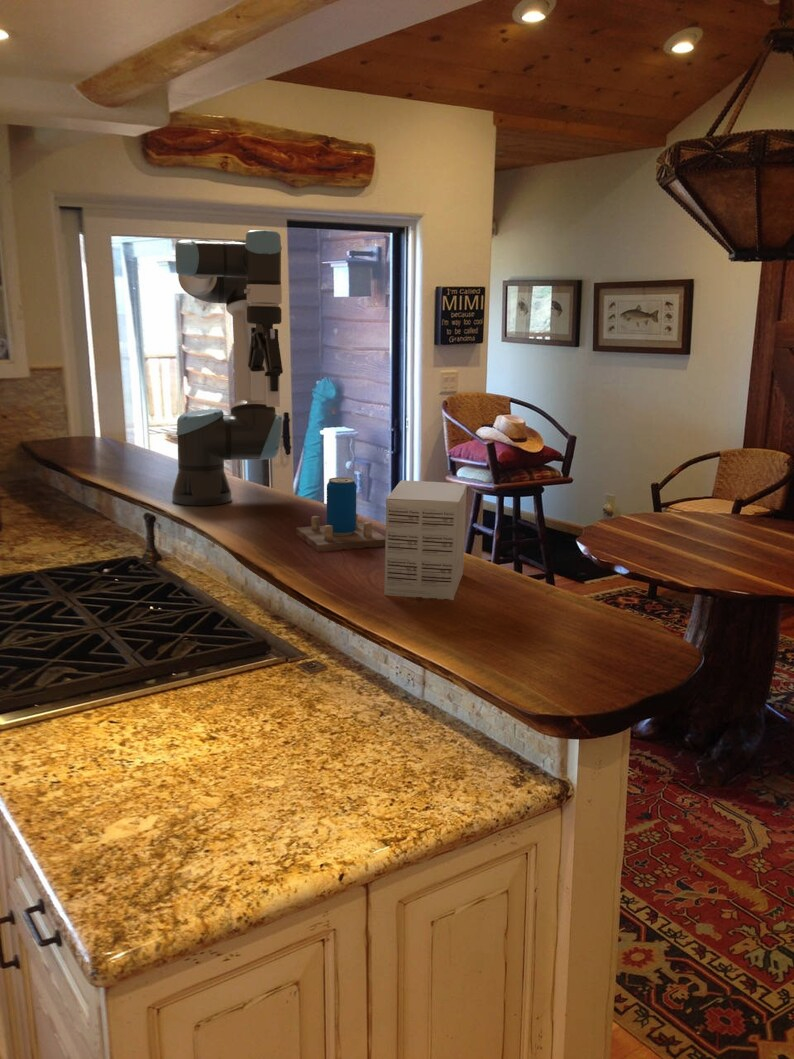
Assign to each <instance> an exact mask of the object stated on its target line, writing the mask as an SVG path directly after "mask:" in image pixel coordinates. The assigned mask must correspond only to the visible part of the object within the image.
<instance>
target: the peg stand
mask: <svg viewBox="0 0 794 1059" xmlns="http://www.w3.org/2000/svg"><path fill="white" fill-rule="evenodd" d="M320 518H321V516H318V515H312V516H311V526H299V527H295V533H297V534H298V535H299V536H300V537H301V538H300V537H299V536H298V535H297V534H296V535H297V536H298V537H299V538H300V539H302V540H303V539H304V540H305V541H306V542H307V543H306V542H305V541H304V540H303V541H304V542H305V543H306V544H308V545H309V546H310V545H311V546H312V548H313V549H314V550H315V551H316V552H317V551H318V553H319V552H320V551H321V552H332V550H333V551H342V549H345V550H352V549H351V548H357V549H365V548H364V547H369V548H377V547H378V548H379V547H380V548H381V547H385V541H386V536H384V535H383V534H381V533H379V532H378V531H376V529H375V530H374V529H373V523H372V522H368V521H367V522H359V521H358V513H356V531H354V532H353V533H352V534H351V535H347V536H336V535H333V526H332V525H327V524H325V525H321V519H320ZM311 546H310V547H311Z"/></svg>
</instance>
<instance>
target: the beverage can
mask: <svg viewBox="0 0 794 1059" xmlns="http://www.w3.org/2000/svg"><path fill="white" fill-rule="evenodd" d="M356 514H357V484H356V482H355V479H354V478H351V477H346V476H345V477H344V476H343V477H341V476H338V477H337V476H336V477H331V478H329V479H328V482H327V484H326V525H332V526H333V535H336V536H347V535H351V534H352V533H353V532H354V531H356Z"/></svg>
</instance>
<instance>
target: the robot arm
mask: <svg viewBox="0 0 794 1059" xmlns="http://www.w3.org/2000/svg"><path fill="white" fill-rule="evenodd" d="M281 239H282V237H281V234H280V233H279V232H278V231H274V230H261V229H260V230H259V229H258V230H257V229H256V230H255V229H254V230H248V231H247V232H246V233H245V242H232V241H231V242H229V241H228V242H227V241H222V242H221V241H205V240H204V241H203V240H193V239H188V240H178V241H176V242H175V245H174V248H175V255H174V257H175V271H176V274H177V277H178V283H179V285H180V287H181V289H182V290H183V291H184V292H185V293H186V294H188V295H189V296H190V297H192V298H195V299H196V300H197V299H198V300H199V301H202V302H207V303H210V304H211V303H212V304H224V305H225V308H226V311H227V313H229V315H231V316H232V334H233V335H232V338H233V357H234V358H233V360H234V378H235V379H234V380H235V403H234V404H233V406H231V408H230V414H224V412H223V410H222V409H220V408H213V409H212V408H211V409H210V408H209V409H201V410H195V411H190V412H186V413H182V414H180V416H179V417H178V418H177V422H176V425H177V426H176V436H177V464H178V466H177V468H178V470H177V475H176V478H175V482H174V485H173V488H172V496H171V498H172V502H173V503H175V504H178V505H184V506H194V507H195V506H197V507H200V506H201V507H202V506H214V505H215V506H216V505H221V504H226V503H229V502H231V501H232V498H233V497H232V490H231V487H230V484H229V481H228V479H227V476H226V473H225V461H243V460H244V461H245V460H246V461H249V460H250V461H254V460H256V461H257V460H258V461H262V460H274V458H276V457H277V456H278V454H279V451H280V446H281V439H282V430H283V422H282V421H283V417H282V414H279V413H276V408H279V407H280V405H281V404H280V397H281V396H280V394H281V393H280V390H281V388H280V376H281V374H282V375H283V372H284V369H283V366H282V365H283V364H282V358H281V357H282V356H281V349H280V341H279V329H278V328H274V325H280V324H282V308H281V306H280V305H282V303H283V302H282V299H283V298H282V295H283V294H282V251H283V250H282V248H283V247H282V244H281V243H282V242H281V241H282V240H281Z"/></svg>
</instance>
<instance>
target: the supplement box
mask: <svg viewBox="0 0 794 1059" xmlns="http://www.w3.org/2000/svg"><path fill="white" fill-rule="evenodd" d="M467 488H468V484H467V483H462V482H461V483H458V482H445V481H444V482H443V481H423V480H405V479H404V480H402V479H401V480H400V481H399V482H398V483H397V485H396V486H395V487H394V489H393V490H392V491H391V492H390V493H389V495H388V496H387V497H386V499H385V537H386V541H385V546H384V548H385V549H384V550H385V552H384V554H385V555H384V593H383V594H384V596H390V597H391V596H392V597H403V596H404V597H405V598H416V597H422V598H421V599H429V598H437V599H436V600H444V599H450V600H449V601H454V600H455V595H456V593H457V591H458V588H459V585H460V582H461V580H462V577H463V574H464V558H465V557H464V554H465V537H466V536H465V535H466V513H467V512H466V510H467V493H468V492H467V490H468V489H467Z"/></svg>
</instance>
